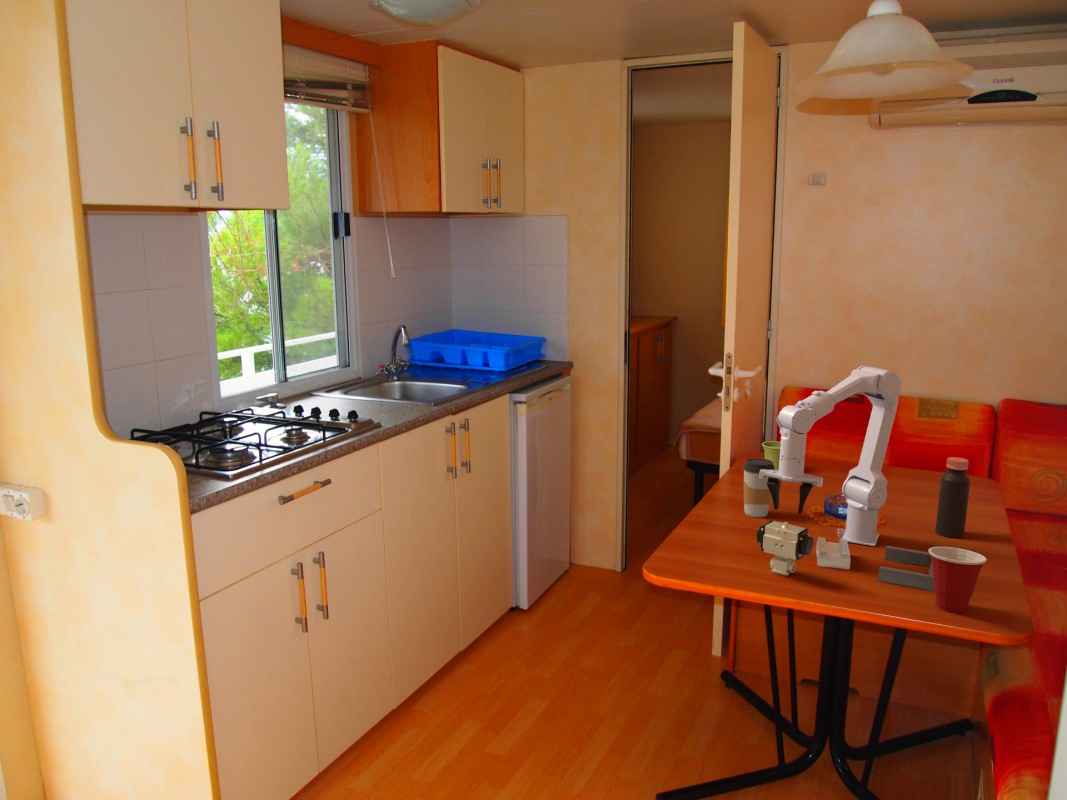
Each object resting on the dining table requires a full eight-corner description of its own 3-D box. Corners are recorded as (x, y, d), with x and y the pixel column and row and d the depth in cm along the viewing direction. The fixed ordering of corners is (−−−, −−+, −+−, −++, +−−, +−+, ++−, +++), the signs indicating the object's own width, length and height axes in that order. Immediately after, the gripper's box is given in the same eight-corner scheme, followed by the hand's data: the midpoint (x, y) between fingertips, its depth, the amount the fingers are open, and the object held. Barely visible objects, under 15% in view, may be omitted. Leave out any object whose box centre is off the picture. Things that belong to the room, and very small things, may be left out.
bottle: (954, 540, 216) (963, 464, 213) (929, 532, 222) (937, 458, 218) (969, 535, 220) (978, 460, 216) (944, 527, 226) (952, 454, 222)
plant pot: (769, 475, 273) (771, 448, 272) (755, 467, 282) (756, 441, 281) (795, 473, 276) (797, 447, 274) (780, 465, 285) (782, 440, 283)
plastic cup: (980, 602, 180) (986, 548, 177) (980, 622, 170) (987, 566, 168) (924, 592, 185) (929, 539, 182) (921, 611, 175) (927, 556, 173)
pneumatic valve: (762, 563, 200) (765, 514, 198) (811, 575, 193) (815, 525, 190) (752, 569, 196) (755, 520, 193) (801, 583, 189) (805, 532, 186)
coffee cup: (775, 519, 231) (779, 465, 228) (744, 518, 231) (748, 465, 228) (766, 509, 239) (770, 457, 236) (737, 509, 239) (740, 457, 236)
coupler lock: (816, 552, 208) (817, 536, 207) (846, 555, 206) (847, 539, 205) (817, 567, 199) (818, 551, 198) (849, 571, 197) (850, 554, 196)
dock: (885, 557, 204) (886, 545, 204) (938, 566, 199) (939, 554, 199) (878, 580, 190) (879, 568, 190) (934, 591, 185) (935, 578, 185)
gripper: (757, 456, 202) (754, 510, 205) (821, 464, 196) (816, 520, 199) (764, 449, 209) (760, 502, 211) (826, 457, 202) (821, 512, 205)
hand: (788, 510), depth 205 cm, fingers open, 5 cm apart
